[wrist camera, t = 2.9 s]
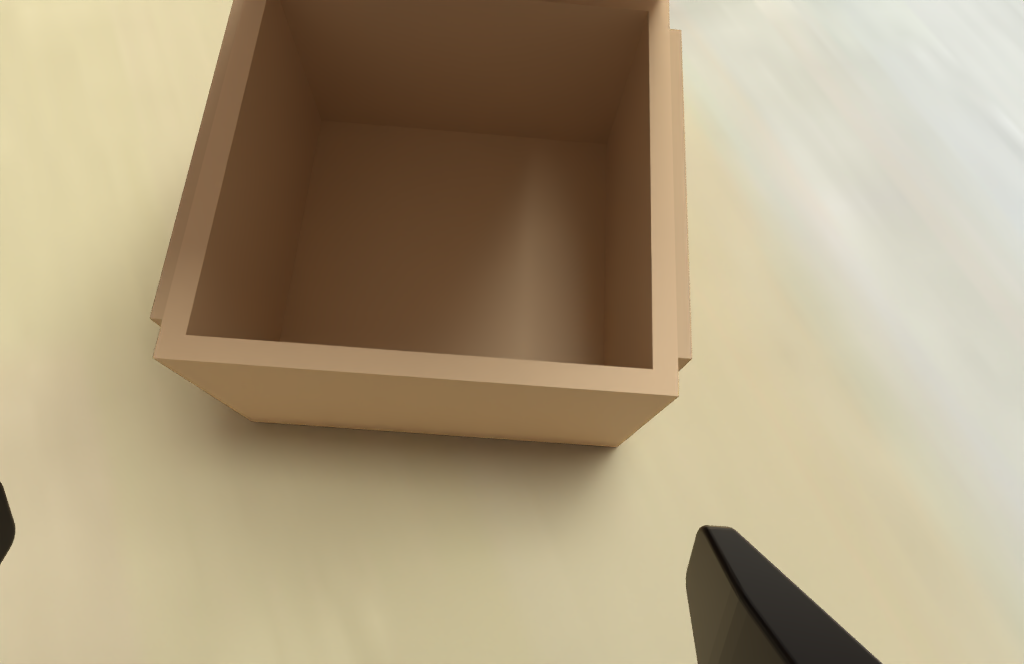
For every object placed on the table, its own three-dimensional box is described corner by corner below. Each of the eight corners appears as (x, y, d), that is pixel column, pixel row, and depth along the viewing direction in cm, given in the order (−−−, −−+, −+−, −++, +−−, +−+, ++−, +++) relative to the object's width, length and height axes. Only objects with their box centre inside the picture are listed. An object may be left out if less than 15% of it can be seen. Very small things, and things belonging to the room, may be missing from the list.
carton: (629, 448, 22) (696, 397, 15) (239, 420, 21) (134, 356, 15) (629, 142, 26) (682, -3, 19) (301, 115, 25) (240, -42, 19)
